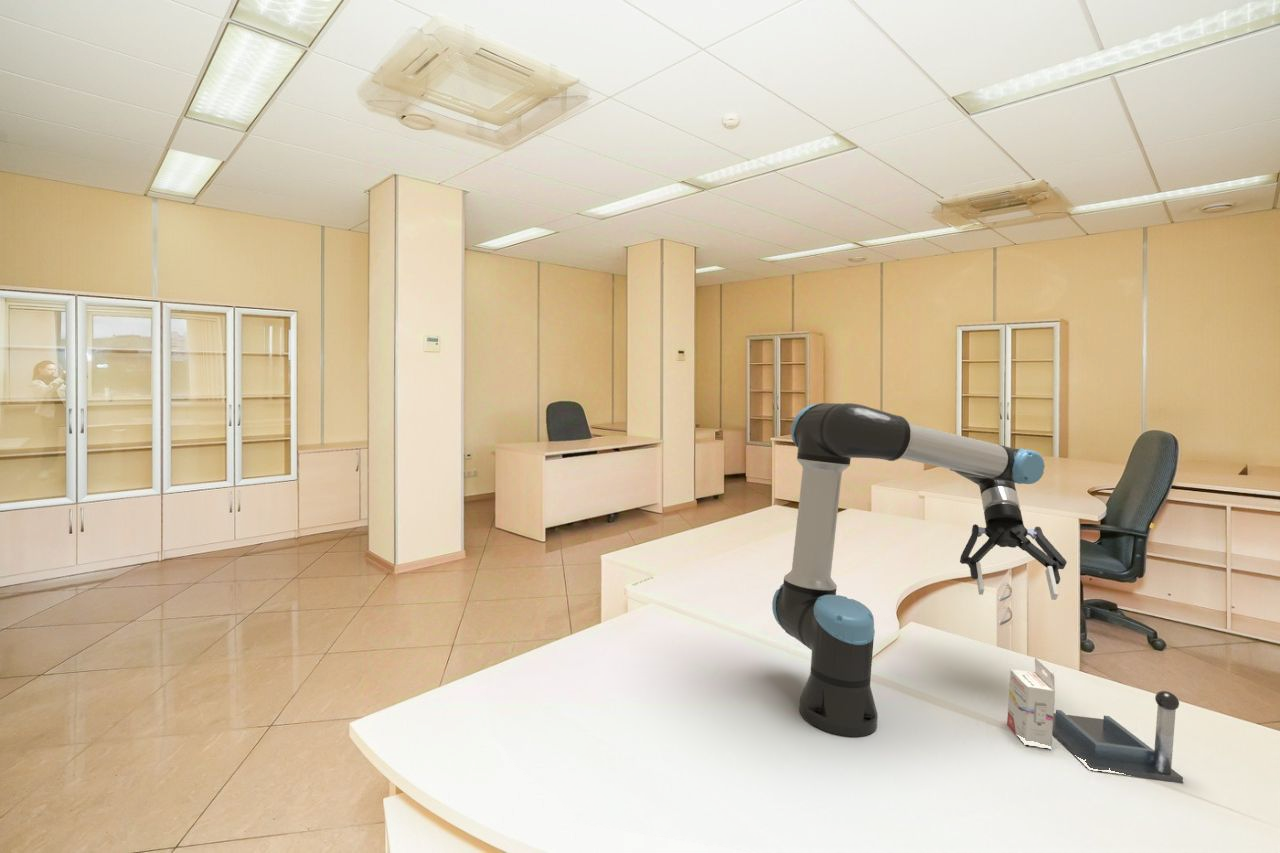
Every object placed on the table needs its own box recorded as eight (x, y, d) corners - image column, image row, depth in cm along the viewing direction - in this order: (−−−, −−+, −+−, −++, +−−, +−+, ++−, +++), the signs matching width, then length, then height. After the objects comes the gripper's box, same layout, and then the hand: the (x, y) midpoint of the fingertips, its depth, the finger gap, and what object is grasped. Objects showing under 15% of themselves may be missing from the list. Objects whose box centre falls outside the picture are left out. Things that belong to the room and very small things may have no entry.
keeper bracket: (1089, 770, 104) (1095, 687, 104) (1031, 715, 124) (1036, 645, 124) (1182, 783, 102) (1189, 698, 102) (1108, 724, 122) (1113, 653, 122)
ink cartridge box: (1005, 723, 120) (1009, 653, 120) (1031, 727, 119) (1036, 656, 119) (1023, 746, 111) (1028, 670, 111) (1052, 750, 110) (1057, 674, 110)
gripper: (1060, 520, 136) (1083, 606, 123) (941, 517, 145) (951, 597, 132) (1068, 503, 130) (1092, 591, 118) (944, 500, 140) (954, 582, 127)
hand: (1017, 594), depth 125 cm, fingers open, 13 cm apart
